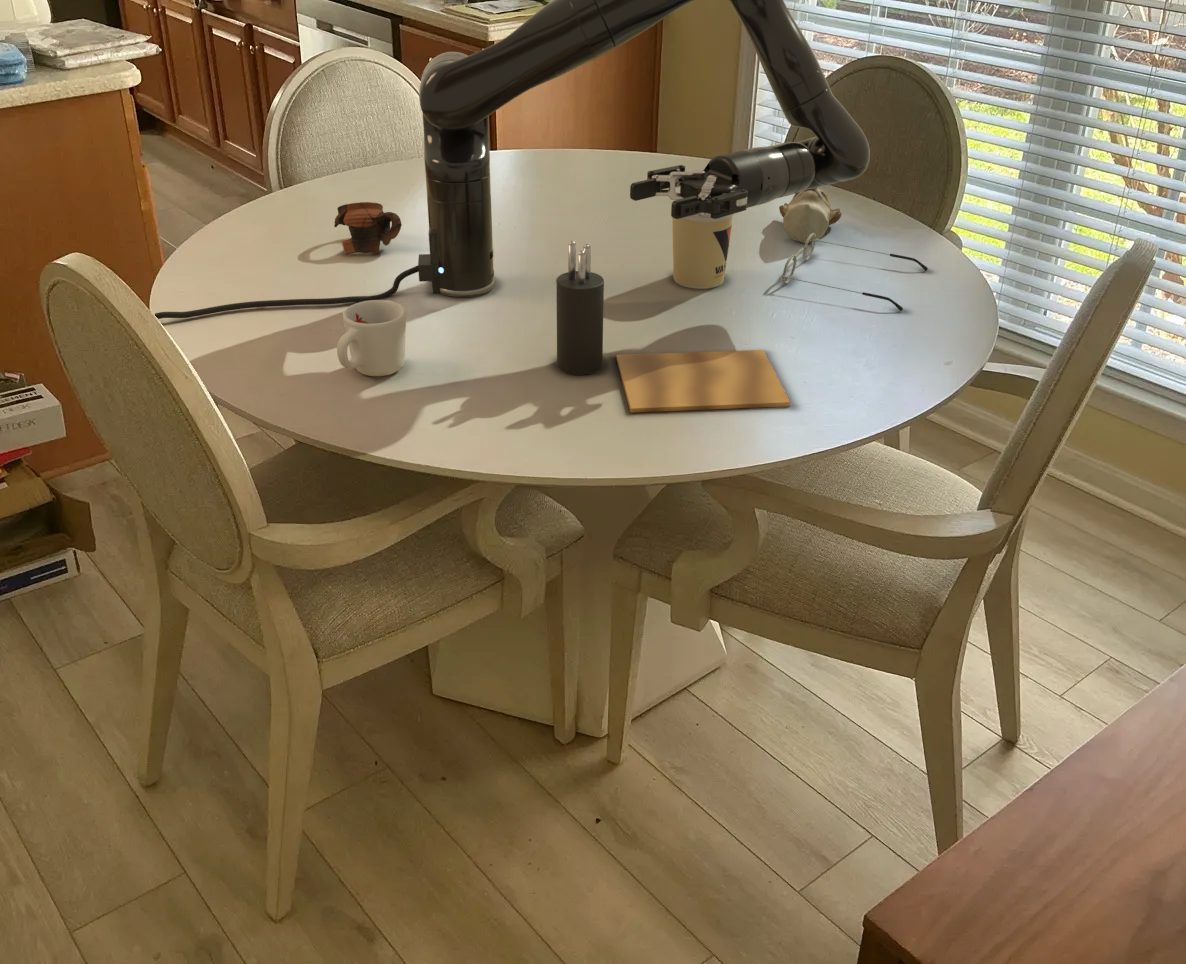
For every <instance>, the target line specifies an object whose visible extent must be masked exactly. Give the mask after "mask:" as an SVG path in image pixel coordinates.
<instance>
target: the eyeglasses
mask: <svg viewBox="0 0 1186 964" xmlns="http://www.w3.org/2000/svg"><path fill="white" fill-rule="evenodd" d="M812 236H813V242H812V245H811V249H810V251H809V253H808V255H807V249H808V244H809V243H810V242H809V240H810V238H811V237H812ZM819 242H821V243H826V244H831V245H836V246H840V247H846V248H851V249H855V250H861V251H865V252H872V253H876V254H881V255H882V254H883V255H887V256H889V257H893V258H898V259H904V260H907V261H912V262H914V263H917V264H918V265H919V266H920V268H922V269H923V270H924V271H925V272H927V271H928V269H929V268H928V267H927V266H926V265H925V264H923V263H922V262H920V261H919V260H918V259H916V258H914V257H910V256H905V255H901V254H896V253H895V254H894V253H886V252H880V251H874V250H870V249H866V248H865V249H864V248H859V247H855V246H850V245H844V244H839V243H835V242H829V241H824V240H820V239H819V240H818V239H816V234H815V233H812V234H810V236H809V237H808V238H807V240H806V243H804V246H802V247H801V248H800V249H799V250H798V251H796V253H795V254H791V255H790V256H789V257H788V258H787V260H786V262H785V265H784V267H783V271H782V275H781V280H782V283H783V284H785V285H787V284H788V283H789V282H790V281H791V280H793V281H798V282H803V283H809V284H813V285H818V286H823V287H828V288H832V289H836V290H842V291H847V292H851V293H856V294H861V295H863V296H866V297H871V298H876V299H881V300H885V301H888V302H890V303H891V304H892V305H894V306H895V307H896V308H897V310H899V311H900V312H902V311H903V310H904V308H903V306H901V305H900V304H899V303H897V302H896V301H894V300H893V299H892V298H890V297H888V296H884V295H879V294H875V293H869V292H860V291H856V290H850V289H846V288H840V287H837V286H836V287H835V286H831V285H826V284H821V283H816V282H811V281H807V280H802V279H797V278H793V275H794V273H795V270H796V266H797V258H798V257H799V256H800V255H801V254H802V260H804V261H808V260H810V258H811V257H812V255H813V252H814V251H815V250H814V249H815V246H816V243H819ZM806 255H807V257H806ZM791 261H792V262H793V263H792V268H791V272H790V275H789V276H787V275H786V273H787V269H788V267H789V264H790V262H791Z"/></svg>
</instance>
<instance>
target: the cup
mask: <svg viewBox="0 0 1186 964" xmlns="http://www.w3.org/2000/svg"><path fill="white" fill-rule="evenodd" d="M342 322H343V326H344V331H345V332H344V333H343V334H342V335H341V336H340V338H339V339H338V342H337V344H336V354H337V359H338V361H339V364H340V365H341V366H342V367H344V368H346V369H348V370H349V369H356V370H357V371H358V372H359V373H360V374H362V375H365V376H370V377H386V376H389V375H393V374H395V373H396V372H398V371H400V370H401V369H402V367H403V365H404V364H405V359H406V337H407V310H406V308H405V307H404V306H403V305H402V304H400V303H398V302H395V301H392V300H387V299H386V300H385V299H380V300H369V301H363V302H355V303H354V304H351V305H350V306H348V307H347V308H345V309H344V310H343V313H342ZM348 348H349V352H350V359H349V357H348Z"/></svg>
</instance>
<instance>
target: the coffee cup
mask: <svg viewBox="0 0 1186 964" xmlns="http://www.w3.org/2000/svg"><path fill="white" fill-rule="evenodd" d="M710 215H711V214H709V213H707V215H705V216H700V215H698V214H695V215H691V216H687V217H684V218H680V219H675V218H673V217H672V266H673V267H672V270H673V271H672V272H673V280H674V282H675V283H676V284H678V285H680V286H682V287H685V288H689V289H694V290H695V289H696V290H707V289H712V288H716V287H719V286H720V285H722V284H723V282H724V280H725V274H726V269H727V268H726V267H727V261H728V255H729V248H730V241H731V235H732V227H733V219H734V215H735V214H731V215H728V216H724V217H721V218H717V219H713V218H711V217H710Z"/></svg>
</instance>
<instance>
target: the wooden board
mask: <svg viewBox="0 0 1186 964" xmlns="http://www.w3.org/2000/svg"><path fill="white" fill-rule="evenodd" d="M615 361H616V364H617V367H618V368H617V369H618V372H619V376H620V378H621V383H622V386H623V391H624V393H625V397H626V401H627V405H628V408H629V413H631V414H633V413H655V412H680V411H681V412H682V411H702V410H703V411H705V410H706V411H707V410H708V411H709V410H728V409H731V410H732V409H754V408H755V409H758V408H783V407H784V408H785V407H791V403H792V402H791V400H790V399H789V396H788V395H787V393H786V391H785V389H784V387H783V385H782V382H781V381H780V379H779V377H778V375H777V373H776V371H775V369H774V368H773V366H772V364H771V362H770V360H769V358H768V356H767V354H766V352H765V350H764V349H748V350H745V349H744V350H722V351H721V350H720V351H716V350H715V351H696V352H695V351H693V352H691V351H690V352H689V351H687V352H663V353H661V352H660V353H636V354H635V353H634V354H633V353H631V354H616V355H615Z"/></svg>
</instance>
